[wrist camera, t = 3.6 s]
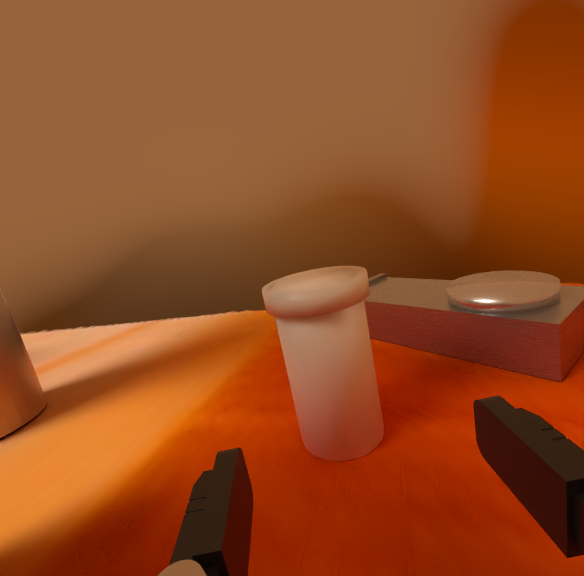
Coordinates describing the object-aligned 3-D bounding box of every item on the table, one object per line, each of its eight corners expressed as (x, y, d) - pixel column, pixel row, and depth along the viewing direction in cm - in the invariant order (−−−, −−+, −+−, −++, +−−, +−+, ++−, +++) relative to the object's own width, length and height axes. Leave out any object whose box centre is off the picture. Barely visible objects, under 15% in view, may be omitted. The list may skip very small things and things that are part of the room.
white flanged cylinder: (277, 436, 22) (242, 291, 20) (341, 393, 26) (317, 265, 23) (343, 484, 17) (306, 300, 15) (411, 424, 21) (389, 266, 18)
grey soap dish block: (338, 331, 38) (330, 286, 36) (385, 307, 42) (380, 267, 41) (560, 383, 22) (558, 307, 20) (596, 335, 26) (596, 270, 25)
